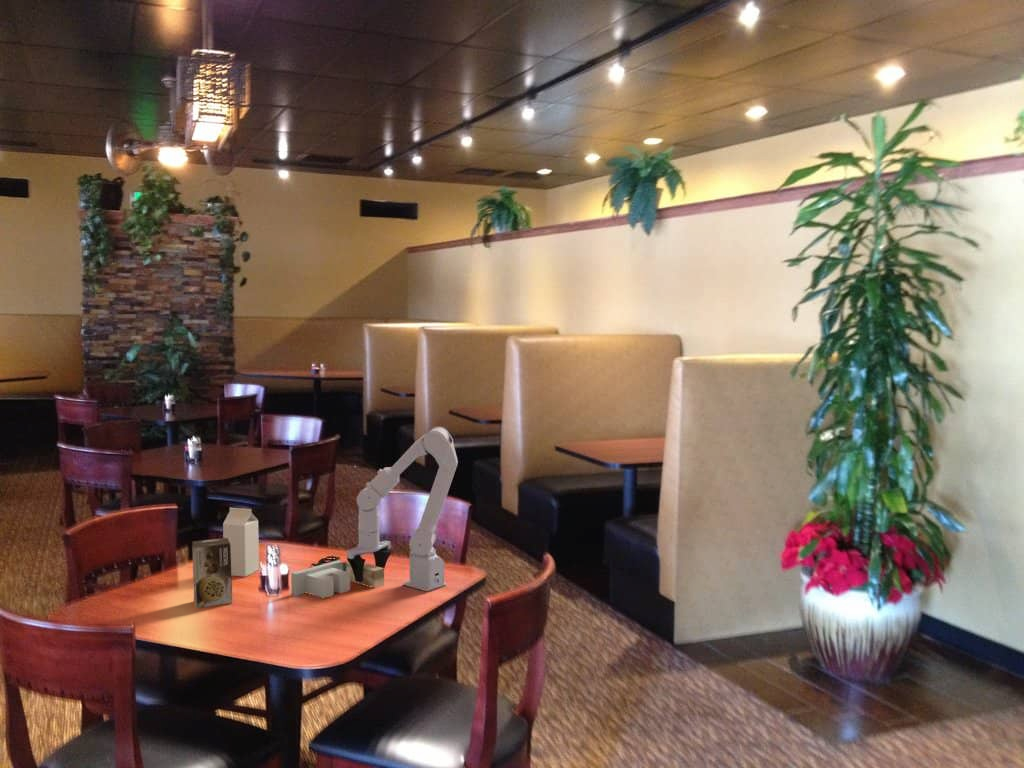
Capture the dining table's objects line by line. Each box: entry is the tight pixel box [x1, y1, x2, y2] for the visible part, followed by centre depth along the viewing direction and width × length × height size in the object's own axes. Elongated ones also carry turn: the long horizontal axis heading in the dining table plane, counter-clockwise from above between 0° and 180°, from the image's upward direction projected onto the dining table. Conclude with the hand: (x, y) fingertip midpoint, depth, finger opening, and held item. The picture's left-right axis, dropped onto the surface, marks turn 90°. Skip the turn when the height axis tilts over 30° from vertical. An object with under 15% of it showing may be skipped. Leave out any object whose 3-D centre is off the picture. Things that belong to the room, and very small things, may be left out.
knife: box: [310, 555, 341, 566], centre depth 258 cm, size 25×6×1 cm, turn 165°
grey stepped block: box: [290, 560, 351, 599], centre depth 239 cm, size 9×16×6 cm, turn 141°
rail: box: [343, 561, 385, 589], centre depth 248 cm, size 15×4×5 cm, turn 50°
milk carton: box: [222, 507, 260, 578], centre depth 254 cm, size 7×7×19 cm
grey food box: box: [191, 537, 234, 609], centre depth 228 cm, size 9×6×16 cm
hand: (369, 578), depth 246 cm, fingers open, 7 cm apart
